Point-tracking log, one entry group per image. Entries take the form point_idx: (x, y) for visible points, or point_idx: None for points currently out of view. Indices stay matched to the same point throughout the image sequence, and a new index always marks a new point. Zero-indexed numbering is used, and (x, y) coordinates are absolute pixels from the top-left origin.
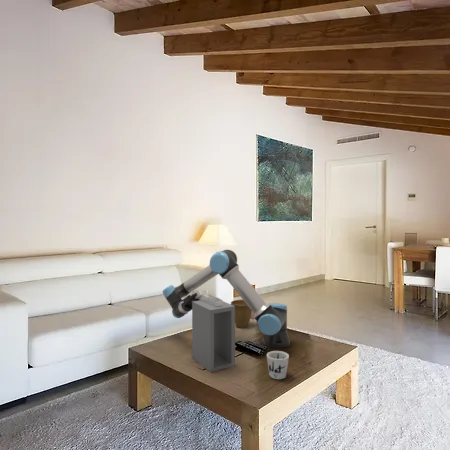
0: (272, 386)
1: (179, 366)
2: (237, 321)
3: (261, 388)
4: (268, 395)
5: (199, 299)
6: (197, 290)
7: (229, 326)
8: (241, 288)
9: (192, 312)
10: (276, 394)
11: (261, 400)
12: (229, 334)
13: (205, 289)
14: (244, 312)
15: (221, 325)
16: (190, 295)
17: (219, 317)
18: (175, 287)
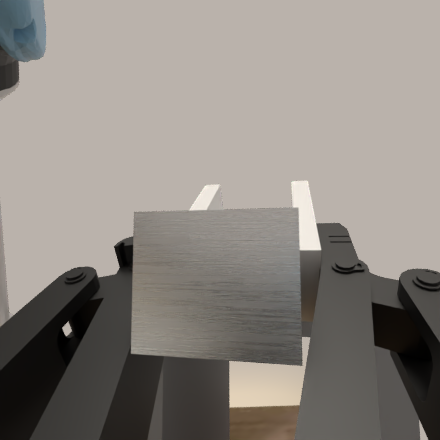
0: (232, 424)
1: None
2: None
3: (260, 430)
4: (269, 413)
5: (150, 418)
6: (172, 213)
7: (225, 373)
8: (1, 219)
9: (416, 424)
10: (252, 409)
11: (295, 411)
12: (226, 414)
13: (216, 190)
14: None
15: (207, 430)
16: (401, 280)
17: (201, 393)
18: None
